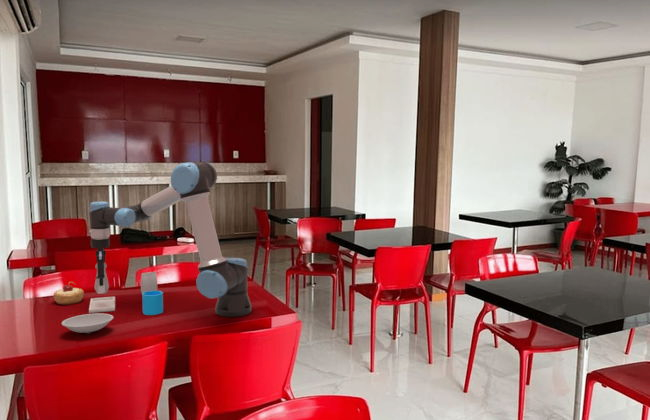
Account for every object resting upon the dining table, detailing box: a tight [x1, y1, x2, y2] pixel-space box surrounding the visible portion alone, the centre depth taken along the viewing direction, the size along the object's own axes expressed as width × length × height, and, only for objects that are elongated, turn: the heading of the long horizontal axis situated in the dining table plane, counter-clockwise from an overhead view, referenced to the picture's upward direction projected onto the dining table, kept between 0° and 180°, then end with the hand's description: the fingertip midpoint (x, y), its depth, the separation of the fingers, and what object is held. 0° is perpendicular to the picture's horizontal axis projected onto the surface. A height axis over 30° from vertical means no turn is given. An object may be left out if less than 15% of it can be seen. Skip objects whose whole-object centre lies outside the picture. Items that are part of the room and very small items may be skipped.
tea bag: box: [140, 271, 158, 295], centre depth 248 cm, size 4×7×10 cm, turn 120°
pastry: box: [53, 281, 85, 306], centre depth 233 cm, size 12×12×9 cm
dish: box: [61, 312, 114, 334], centre depth 195 cm, size 18×14×5 cm
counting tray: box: [88, 296, 116, 314], centre depth 227 cm, size 17×10×2 cm, turn 21°
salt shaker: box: [94, 262, 110, 295], centre depth 226 cm, size 6×6×13 cm
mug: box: [141, 290, 164, 316], centre depth 222 cm, size 12×8×8 cm
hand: (101, 290), depth 227 cm, fingers closed on salt shaker, 6 cm apart
